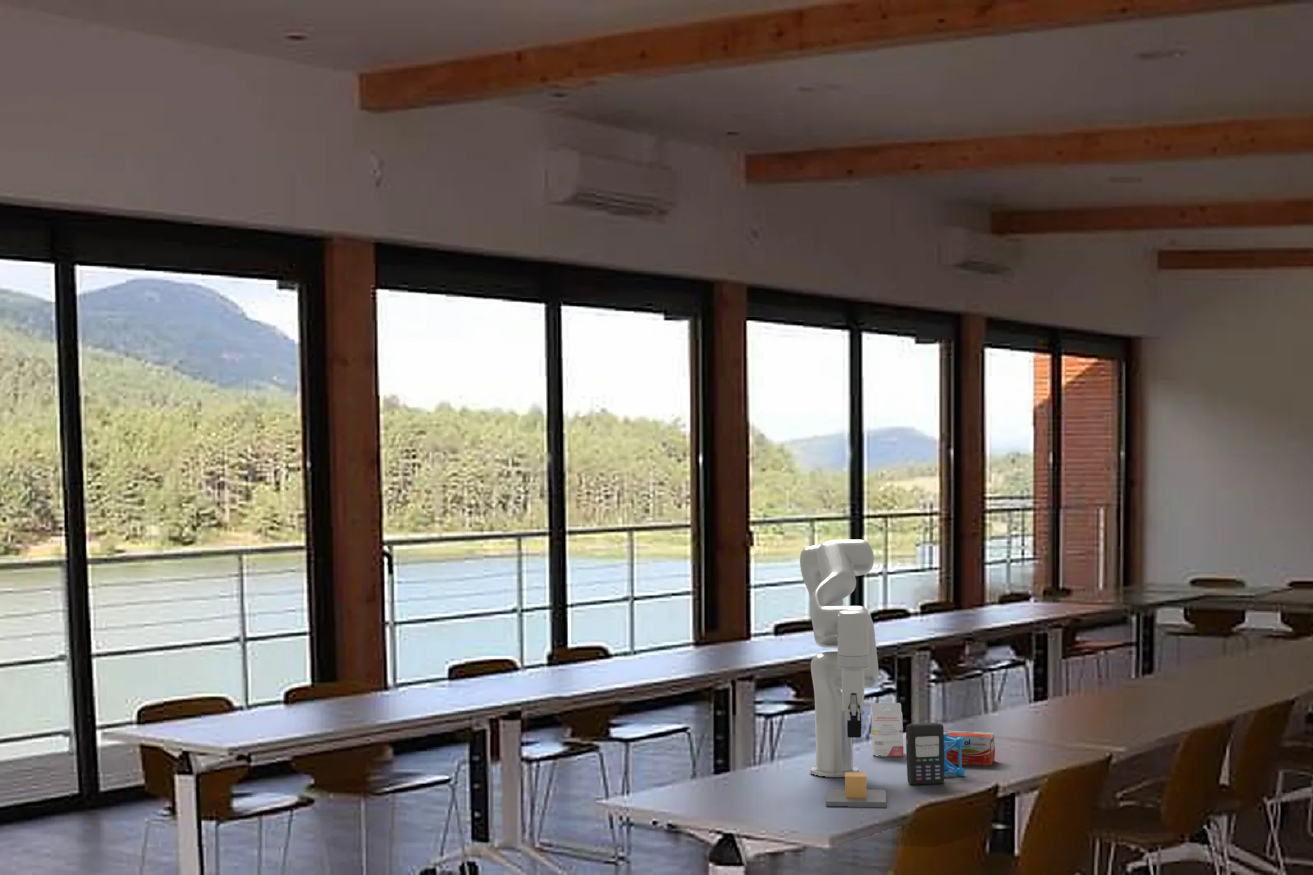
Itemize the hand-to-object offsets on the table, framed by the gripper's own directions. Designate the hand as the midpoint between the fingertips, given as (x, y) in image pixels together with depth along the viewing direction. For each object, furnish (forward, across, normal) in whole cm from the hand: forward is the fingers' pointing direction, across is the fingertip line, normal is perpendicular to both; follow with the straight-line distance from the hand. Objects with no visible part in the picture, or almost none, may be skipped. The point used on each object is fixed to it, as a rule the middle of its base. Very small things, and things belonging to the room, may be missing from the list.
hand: (854, 733), depth 367 cm
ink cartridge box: (+18, -59, +8) cm, 62 cm away
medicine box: (+18, -49, +29) cm, 59 cm away
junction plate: (+16, +1, 0) cm, 16 cm away
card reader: (+17, -20, +17) cm, 31 cm away
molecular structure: (+17, -32, +21) cm, 42 cm away
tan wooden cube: (+15, +1, 0) cm, 15 cm away
